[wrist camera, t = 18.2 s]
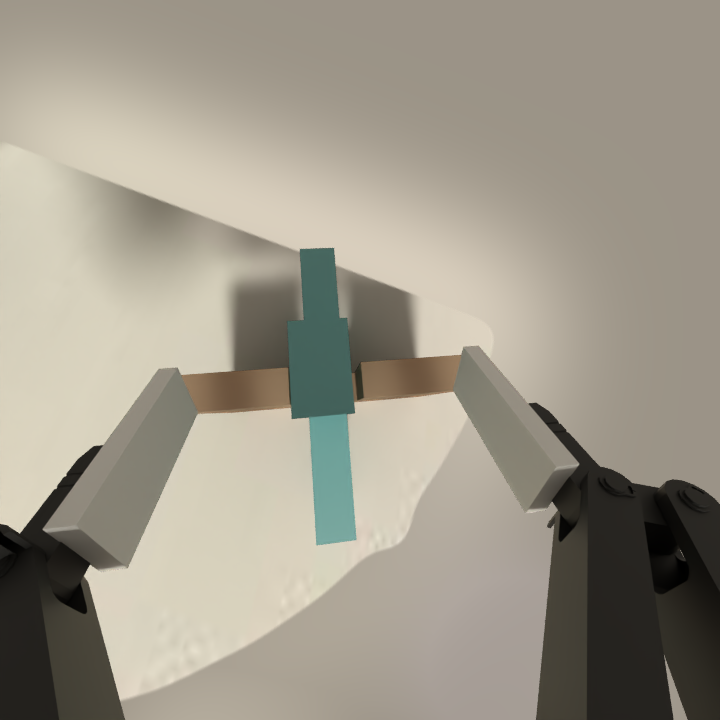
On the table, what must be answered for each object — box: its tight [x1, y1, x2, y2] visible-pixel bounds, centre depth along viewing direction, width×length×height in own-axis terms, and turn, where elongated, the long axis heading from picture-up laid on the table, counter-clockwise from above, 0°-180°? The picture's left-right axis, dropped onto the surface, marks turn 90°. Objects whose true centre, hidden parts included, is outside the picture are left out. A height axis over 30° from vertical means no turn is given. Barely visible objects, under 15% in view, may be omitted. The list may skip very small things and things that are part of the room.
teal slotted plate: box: [287, 248, 356, 545], centre depth 22 cm, size 20×2×20 cm, turn 5°
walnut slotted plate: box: [181, 355, 461, 414], centre depth 26 cm, size 20×2×12 cm, turn 95°
